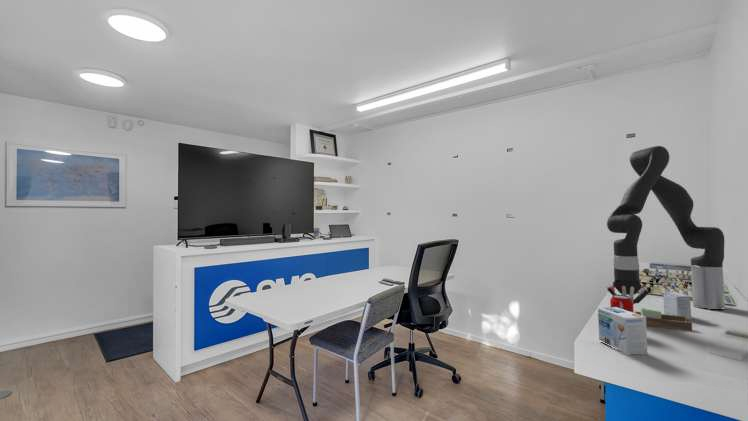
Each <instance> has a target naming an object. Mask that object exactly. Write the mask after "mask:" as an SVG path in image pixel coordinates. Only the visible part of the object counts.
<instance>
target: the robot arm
mask: <svg viewBox="0 0 748 421" xmlns="http://www.w3.org/2000/svg"><path fill="white" fill-rule="evenodd" d="M669 162H670V153H669V151H668V150H667V148H666V147H664V146H661V145H656V146H652V147H651V146H650V147H647V148H644V149H639V150H636V151H633V152H632V153H631V154H630V156H629V163H630V165H631V168H632V169H633V170H634V172H635V173H636V174H637V176H639V177H638V178H637V179H636V180H635V181H633V182H632V183H631V184H630V186H629V187H627V189H626V191H624V192H625V193H624V194H623V196H622V199H621V202H620V204H619V205H618V206H617V207H616V208H615V209H614V211H612V212H611V213H610V216H608V218H607V221H606V226H607V229H608V230H609V231H610V232H611V233H614V234H626V235H625V237H624V238H621V239H615V240H614V241H613V275H614V280H613V282H612V284H611V285H610V286H607V288H606V290H607V291H608V293H609V294H611V296H612V295H618V294H617V293H616V291H617V292H618V293H619V294H620V295H626V296H630V297H631V300H632V301H633V305H635V304H640V302H641V301H643V300H644V298H646V297H647V296H648V295H649V294H650V291H649V290H647V289H645V287H642V286H643V285H642V284H641V282H640V279H641V278H640V264H639V258H638V243H639V239H640V234H641V232H642V229H643V221H642V219H641V217H640V216H638V214H640V213H641V212H642V211H643V208H644V206H645V204H646V202H647V199H648V196H649V194H650V193H651V191H652V193H653V194H654V195H655V197H656V199H657V200H658V202H659V204H661V206H662V208H663V209H664V211H666V212H667V214H668V215H669V217H670V218H671V220H672V222H673V223H674V225H675V227H676V229H677V230H678V232H679V234H680V236H681V238H682V239H683V241H684V242H685V244H686V245H687V246H689V247H690V248H692V249H696V250H697V249H698V250H699V249H700V250H704V252H703V254H702V255H700V256H694V257H691V258H690V269H691V287H692V288H691V291H692V292H691V293H692V306H694V307H696V308H699V307H701V308H700V309H703V308H707V309H706V310H710V309H722V308H725V307H726V306H725V289H724V287H725V286H724V285H725V284H724V267H723V266H724V265H723V262H724V260H725V235H724V233H723V231H722V230H721V229H720V228H719V227H714V226H713V227H712V226H697V225H696V224H695V223H694V221H693V220H692V218H691V217H692V213H693V210H694V201H693V198H692V196H691V195H690V194H689V192H688V191H687V190H686V189H685V187H683V186H682V185H681V184H679V183H677V182H676V181H673V180H671V179H668V178H667V177H665V176H663V175H662V174H663V172H664V171H665V169H666V168H667V166H668V165H669ZM638 292H639V294H638ZM636 294H638V295H637V296H636ZM634 296H636V297H635V298H634Z"/></svg>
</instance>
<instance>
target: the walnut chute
mask: <svg viewBox="0 0 748 421" xmlns="http://www.w3.org/2000/svg"><path fill="white" fill-rule="evenodd" d="M634 313H636V314H639V315H641V311H634ZM646 327H658V328H665V329H667V328H668V329H675V330H685V331H693V324H692V322H691V321H686V319H685V317H684V316H677V315H668V314H665V313H661V319H656V318H646Z"/></svg>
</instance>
